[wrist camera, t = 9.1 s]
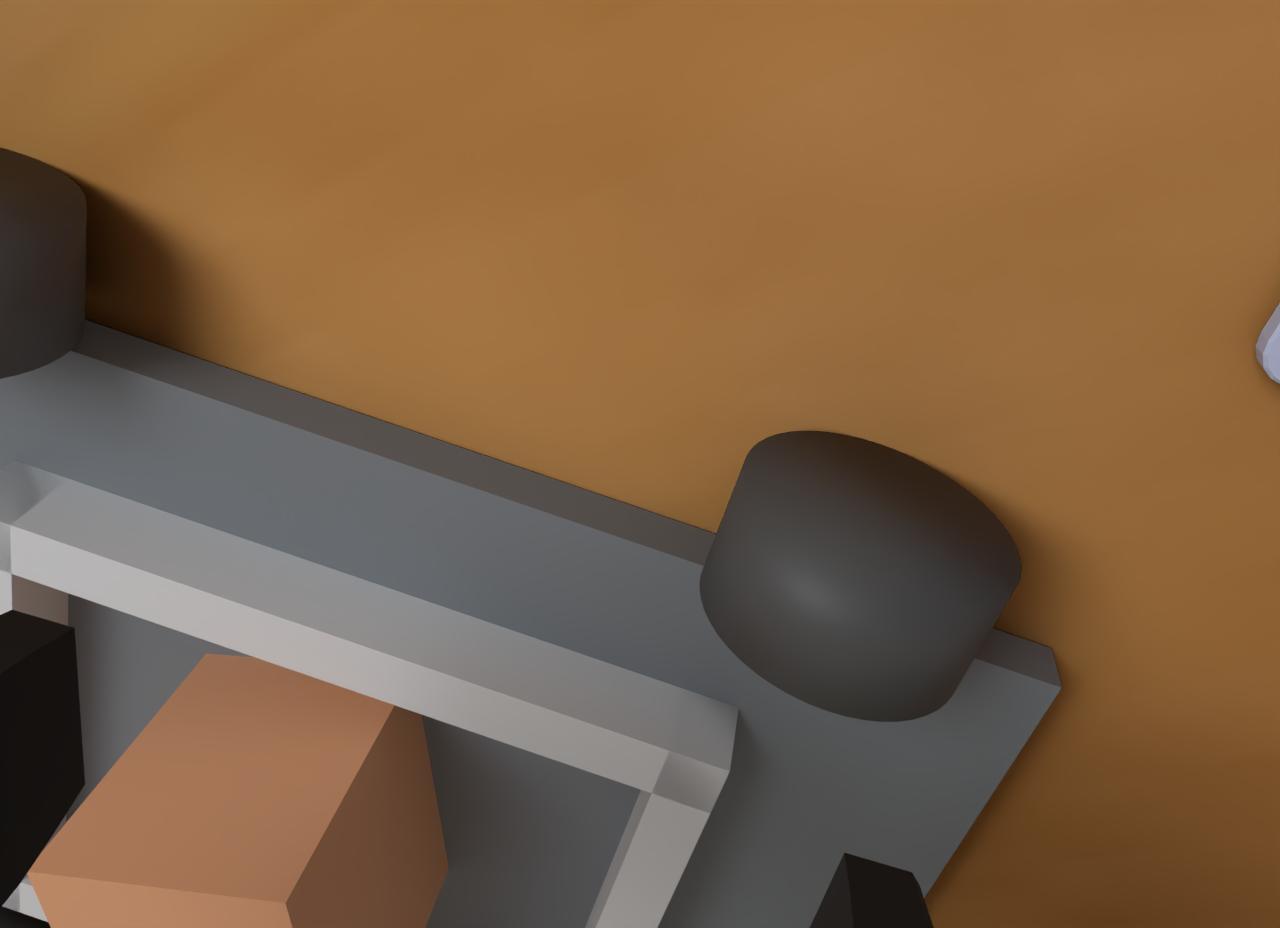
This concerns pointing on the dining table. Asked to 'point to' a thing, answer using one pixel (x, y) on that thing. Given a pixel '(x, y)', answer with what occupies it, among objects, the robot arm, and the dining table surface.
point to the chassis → (517, 619)
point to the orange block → (255, 813)
